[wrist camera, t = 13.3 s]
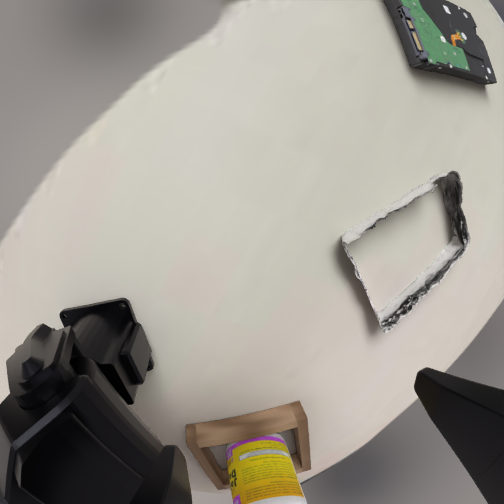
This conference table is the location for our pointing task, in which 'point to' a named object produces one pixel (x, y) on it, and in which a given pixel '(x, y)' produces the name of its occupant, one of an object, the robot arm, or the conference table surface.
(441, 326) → the conference table surface
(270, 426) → the brown wooden square frame
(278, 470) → the supplement bottle
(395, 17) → the disk drive
